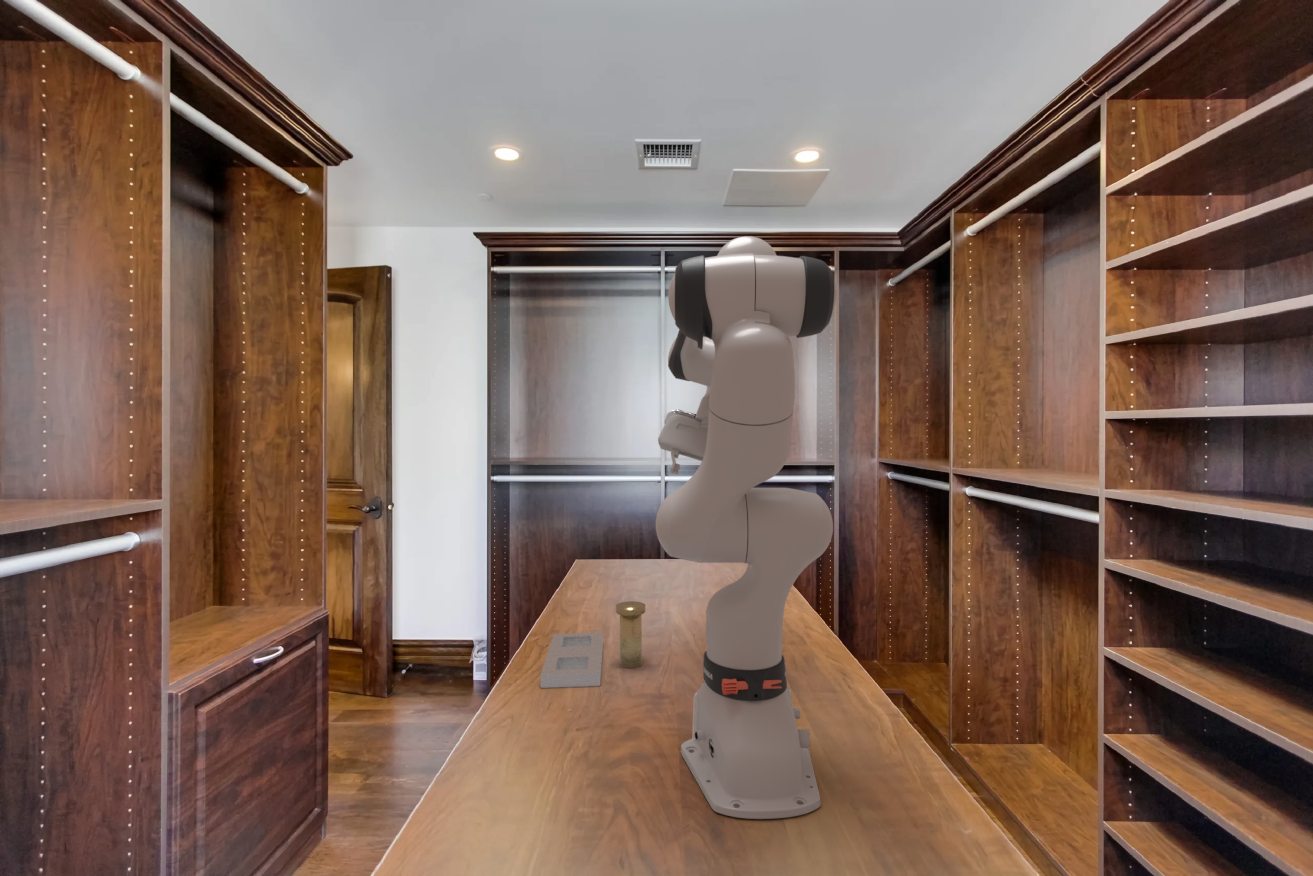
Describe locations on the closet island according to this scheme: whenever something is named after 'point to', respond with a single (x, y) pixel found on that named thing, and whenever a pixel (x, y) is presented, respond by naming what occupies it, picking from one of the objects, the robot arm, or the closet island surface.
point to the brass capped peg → (630, 633)
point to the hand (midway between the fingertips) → (695, 479)
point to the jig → (573, 661)
